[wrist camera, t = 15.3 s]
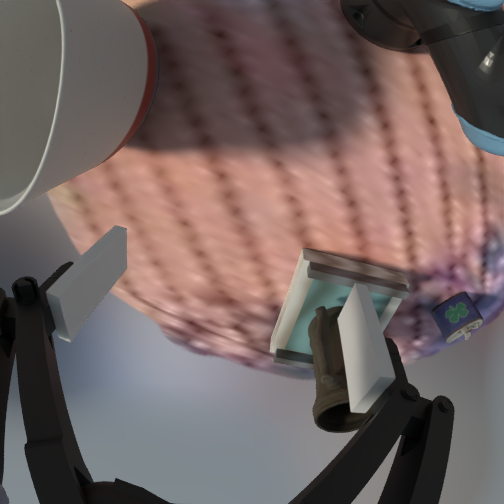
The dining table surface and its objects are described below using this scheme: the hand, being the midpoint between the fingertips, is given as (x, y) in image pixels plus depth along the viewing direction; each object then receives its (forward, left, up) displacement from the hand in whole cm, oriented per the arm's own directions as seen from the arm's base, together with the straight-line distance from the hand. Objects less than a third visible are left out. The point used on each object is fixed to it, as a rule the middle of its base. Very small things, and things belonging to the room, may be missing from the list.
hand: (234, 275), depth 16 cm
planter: (+29, -9, -32) cm, 44 cm away
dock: (-19, +24, -32) cm, 44 cm away
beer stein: (-17, +24, -28) cm, 40 cm away
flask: (-44, +17, -32) cm, 57 cm away
